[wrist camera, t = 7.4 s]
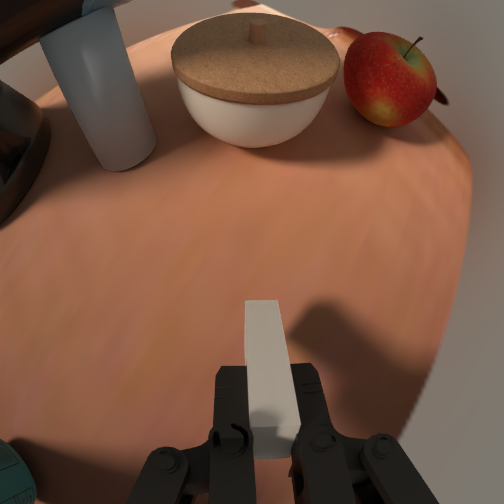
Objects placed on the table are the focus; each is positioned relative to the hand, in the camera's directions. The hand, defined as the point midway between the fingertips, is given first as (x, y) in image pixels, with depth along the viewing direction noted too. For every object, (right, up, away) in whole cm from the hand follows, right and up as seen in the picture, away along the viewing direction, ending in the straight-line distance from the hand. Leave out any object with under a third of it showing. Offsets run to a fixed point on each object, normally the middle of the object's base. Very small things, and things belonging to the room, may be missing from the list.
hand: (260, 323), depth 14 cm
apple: (+11, +16, +10) cm, 22 cm away
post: (-10, +12, +7) cm, 17 cm away
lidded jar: (0, +14, +9) cm, 16 cm away
